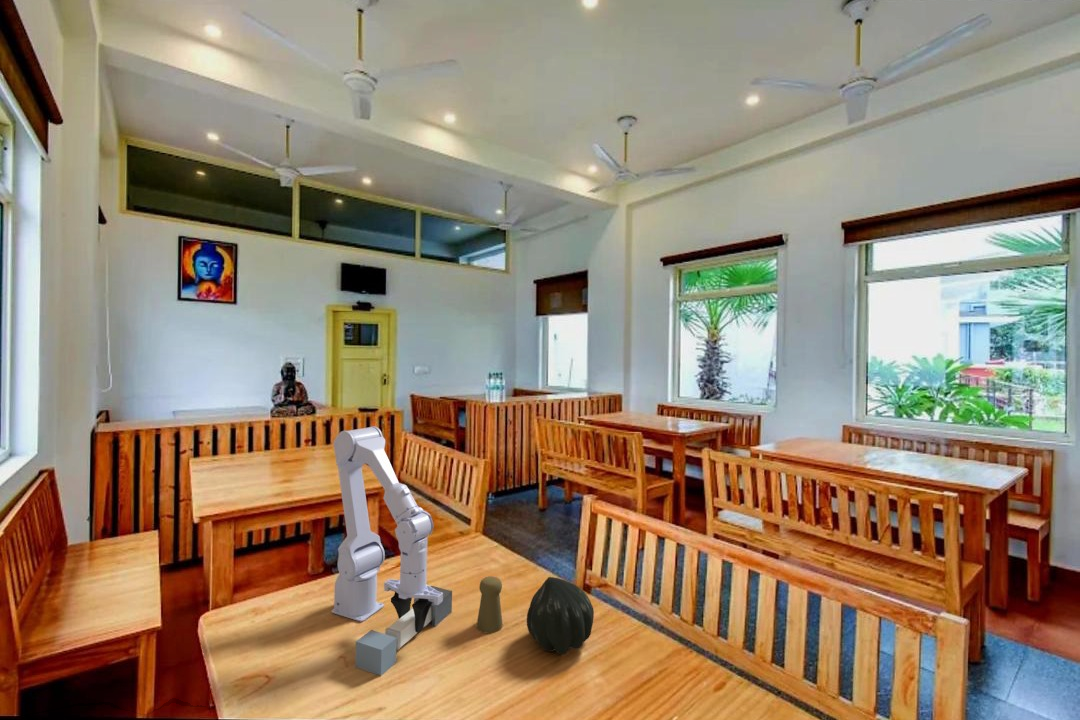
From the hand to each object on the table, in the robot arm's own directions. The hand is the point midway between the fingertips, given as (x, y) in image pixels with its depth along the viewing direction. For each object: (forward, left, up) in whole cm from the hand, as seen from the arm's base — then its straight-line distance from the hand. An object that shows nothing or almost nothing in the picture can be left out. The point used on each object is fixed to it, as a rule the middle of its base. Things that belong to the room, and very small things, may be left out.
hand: (412, 627), depth 111 cm
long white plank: (0, +2, -1) cm, 3 cm away
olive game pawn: (+14, +10, -2) cm, 18 cm away
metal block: (0, +8, -1) cm, 8 cm away
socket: (0, -12, -1) cm, 12 cm away
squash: (+31, +11, -2) cm, 33 cm away
